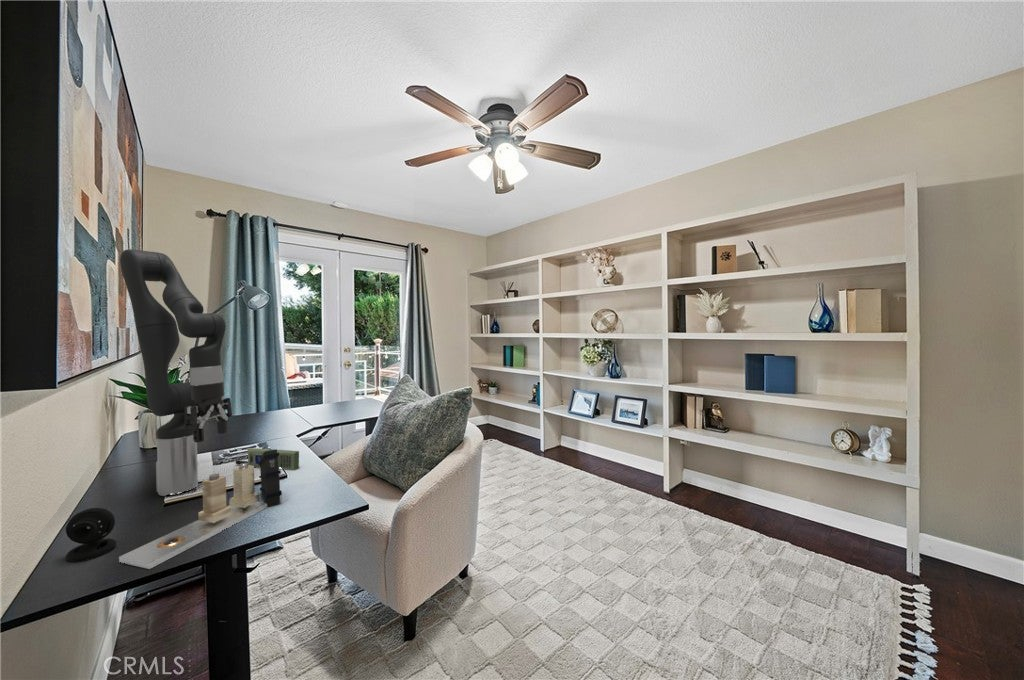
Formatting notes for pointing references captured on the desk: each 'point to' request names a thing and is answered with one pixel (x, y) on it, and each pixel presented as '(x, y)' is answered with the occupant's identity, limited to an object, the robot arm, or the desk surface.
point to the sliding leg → (214, 499)
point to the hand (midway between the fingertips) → (211, 437)
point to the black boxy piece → (270, 477)
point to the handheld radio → (285, 458)
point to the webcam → (90, 533)
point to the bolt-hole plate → (201, 524)
